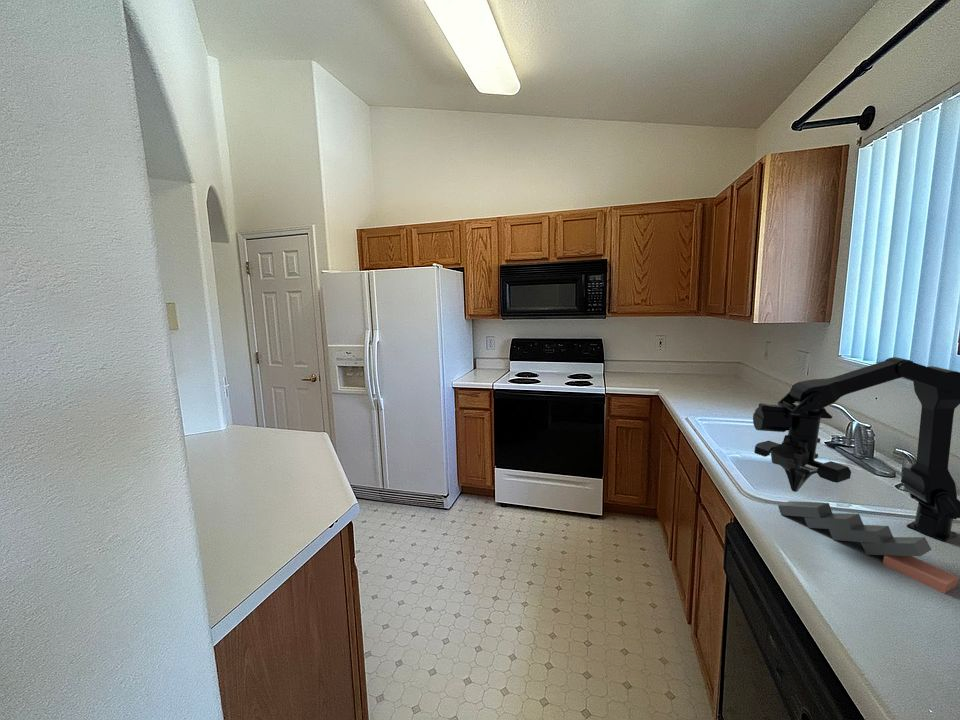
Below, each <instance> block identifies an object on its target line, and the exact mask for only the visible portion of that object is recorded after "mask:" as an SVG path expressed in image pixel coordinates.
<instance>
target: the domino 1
mask: <svg viewBox="0 0 960 720" xmlns="http://www.w3.org/2000/svg"><path fill="white" fill-rule="evenodd" d="M777 506H778V509H779V513H780V516H789V517H790V516H791V517H802V518H804V517H813V518H822V517H824V516H827V515H829V514H832V513H833V511H832V509H831V505H830V502H814V501H796V500H795V501H794V500H789V501H785V502H783V503H781V504H778V505H777Z"/></svg>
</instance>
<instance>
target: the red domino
mask: <svg viewBox="0 0 960 720" xmlns="http://www.w3.org/2000/svg"><path fill="white" fill-rule="evenodd" d="M882 565H885V566H887V567H888V568H890V569H893V570H895V571H897V572H899V573H900V574H903V575H905V576H907V577H909V578H912V580H915V581H918V582H920V583H922V584H924V585H926V586H928V587H930V588H932V589H933V590H936V591H938V592H940V593H942V594H947V593H948V592H949V591H951V590H952V589H954V588H956V587H957V586H958V582H959V578H960V577H959V576H957V575H955V574H952V573H950V572H948V571H945V570H943V569H941V568H940V567H936V566H934V565H932V564H930V563H928V562H925V561H923V560H921V559H919V558H917V557H916V556H894V555H883V560H882Z"/></svg>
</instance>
